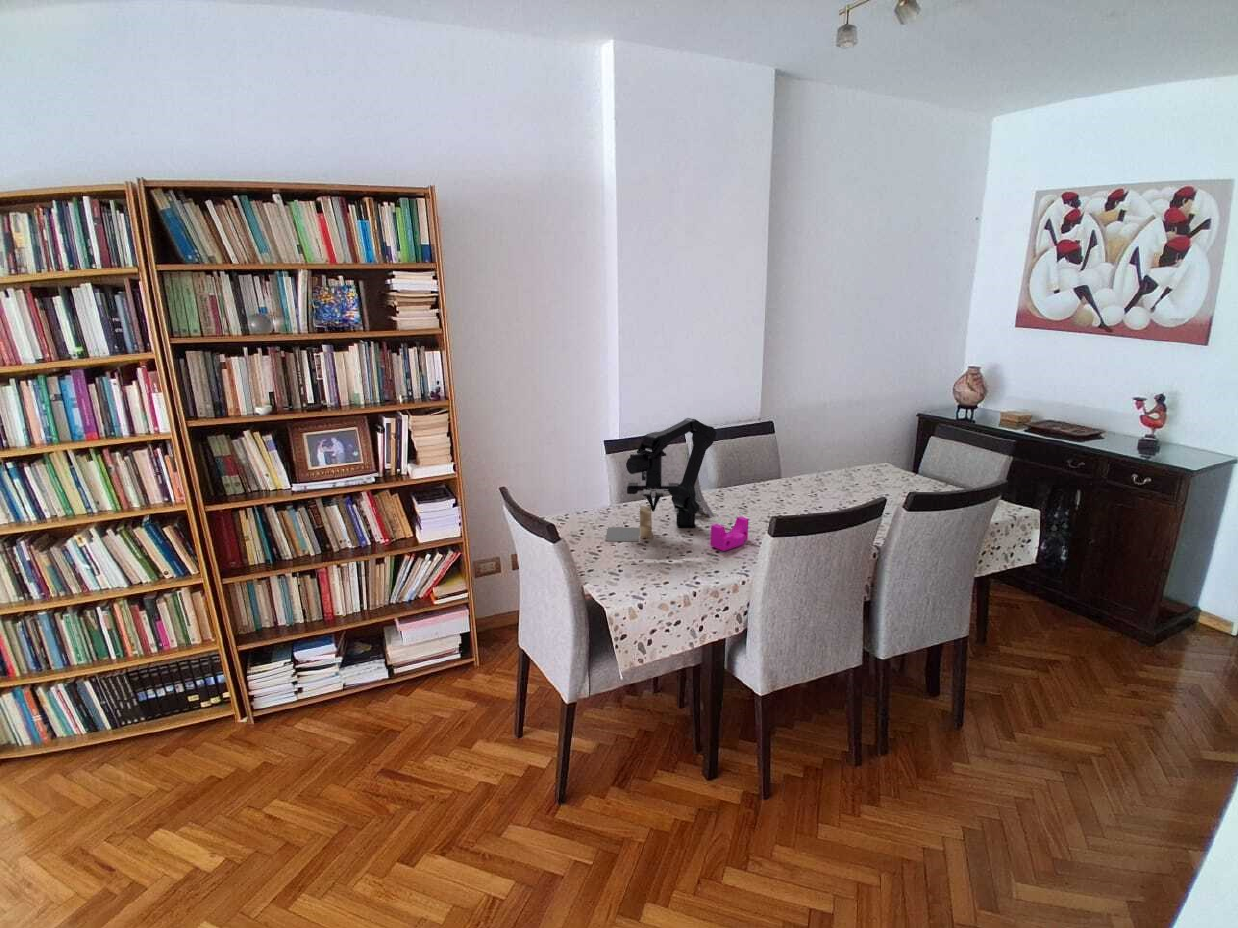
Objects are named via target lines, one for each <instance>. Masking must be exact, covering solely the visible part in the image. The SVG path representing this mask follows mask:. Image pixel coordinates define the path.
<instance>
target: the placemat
mask: <svg viewBox="0 0 1238 928" xmlns="http://www.w3.org/2000/svg"><path fill="white" fill-rule="evenodd" d="M639 541H640V527H628V526H627V527H624V526H623V527H622V526H621V527H620V526H619V527H618V526H617V527H614V526H609V527H607V530H606V534H605V538H604V542H619V543H620V542H621V543H622V542H628V543H630V542H632V543H633V542H634V543H635V542H636V543H637V542H639Z"/></svg>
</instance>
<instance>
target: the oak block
mask: <svg viewBox="0 0 1238 928" xmlns="http://www.w3.org/2000/svg"><path fill="white" fill-rule="evenodd" d="M639 507H640V508H639V528H640V532H639V539H651V538H652V534H653V532H652V530H653V529H652V526H653V525H652V520H653V519H652V509H651V507H650V505H649V506H648V505H647V506H646V505H645V506H644V505H641V506H639Z"/></svg>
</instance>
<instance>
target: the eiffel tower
mask: <svg viewBox="0 0 1238 928" xmlns="http://www.w3.org/2000/svg"><path fill="white" fill-rule="evenodd" d="M692 449H693V444H692V445H691V450H692ZM699 477H700V476H699V475H698V476H697V480H696V483H695V486H694V488H695V493H696V496H695V501H696V502H697V503H698V504H699V505H700V508H699V509H703V510H704V511H705V512H706V514H707V516H708V517H709V518H716V517H717V516H716V515H715V514H714V512H713V511H712V509H711V508H710V506H709V505H708V504H707V503H708V501H707V500H706V499H705V497H704V495H703V492H702V490H701V487H702V485H701V484H700V479H699ZM672 510H673V512H678V509H676V508H673V509H672Z"/></svg>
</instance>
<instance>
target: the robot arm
mask: <svg viewBox="0 0 1238 928" xmlns="http://www.w3.org/2000/svg"><path fill="white" fill-rule="evenodd" d="M688 433H691V434H692V437H691V442H692V445H693V449H691V452H690V455H689V459H688V461H687V463H686V464H687V466H686V467H685V471H684V475H683V477H682V481H681V482H680V483H679V482H669V483H668V485H662V482H663V481H662V480H663V479H662V478H663V477H662V476H663V475H662V474H663V473H662V470H663V469H662V467H663V466H662V463H663V459H662V457H666V456H667V453H666V452H664V450H665V449H666V448H668V446H669V444H670V443H672V442H673V441H674V440H677V439H678V438H681V437H683V436H684V435H686V434H688ZM716 437H717V432H716V429H715V427H713V426H711V425H707V424H704V423H702V422H700V421H699V420H697V419H696V418H690V417H686V418H684V419H683V420H681V421H680V422H677V423H676V424H673V425H672V426H670V427H668V428H665V429H663V430H661V431H660V430H659V431H653V432H649V433H647V434H645V435H644V436H643V439H642V442H641V443H640V445H639V446H638V449H637V450H636V453H632V454H629V458H628V459H627V460H626V463H625V465H626V466H625V467H626V471H627V473H629V474H630V475H635V474H641V481H643V482H644V481H645V485H640V484H639V482H628V483H627V486H626V493H627V495H637V493H638V492H642V496H643V497H645V498H646V499H647V501H648V503H649V506H650V507H651V513H652V512H655V511H656V508H657V505H658V502H659V501H660V499H661V497H664V492H668V494H670V496H671V502H672V504H673V507H674V508H676V509H678V511H676V518H675V519H676V520H675V521H676V523H675V524H676V525H677V528H679V529H680V528H681V529H696V514H697V513H698V512H699V510H700V509H701V508H700V505H699V504H698V503H697V502H696V501H695V496H696V493H695V488H694V486H695V483H696V480H697V476H698V477H699V473H700V470H701V466H702V464H703V461H704V457H705V454H706V452H707V450H708V449H709V448H710V447H711V446H712V445H713V444H714V442H715V439H716ZM652 492H654V498H653V494H652ZM674 508H673V509H674Z"/></svg>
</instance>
